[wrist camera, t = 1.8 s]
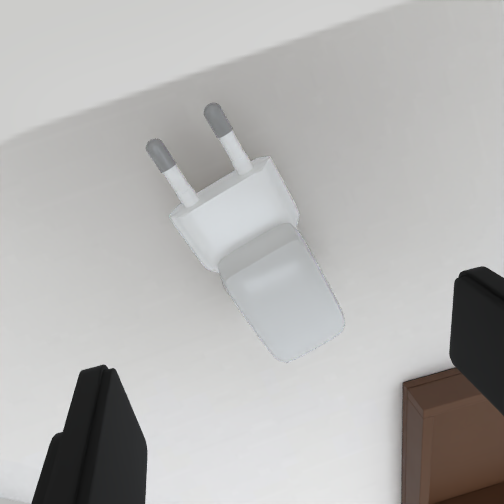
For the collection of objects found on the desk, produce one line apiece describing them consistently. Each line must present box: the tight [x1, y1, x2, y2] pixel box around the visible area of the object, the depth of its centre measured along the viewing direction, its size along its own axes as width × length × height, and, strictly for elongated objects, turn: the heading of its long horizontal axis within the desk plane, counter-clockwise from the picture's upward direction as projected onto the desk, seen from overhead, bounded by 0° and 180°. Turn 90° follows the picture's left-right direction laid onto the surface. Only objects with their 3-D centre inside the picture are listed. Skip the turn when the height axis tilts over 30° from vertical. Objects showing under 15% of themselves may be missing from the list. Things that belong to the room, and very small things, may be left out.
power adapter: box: [146, 103, 345, 363], centre depth 18 cm, size 11×5×6 cm, turn 29°
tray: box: [402, 368, 504, 504], centre depth 31 cm, size 16×16×3 cm
